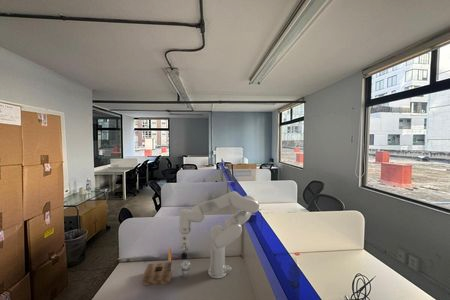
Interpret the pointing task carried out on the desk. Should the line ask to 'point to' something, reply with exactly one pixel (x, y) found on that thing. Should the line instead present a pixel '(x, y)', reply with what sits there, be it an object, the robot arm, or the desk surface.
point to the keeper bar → (169, 255)
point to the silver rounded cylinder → (185, 268)
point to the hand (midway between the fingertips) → (184, 254)
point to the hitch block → (158, 274)
